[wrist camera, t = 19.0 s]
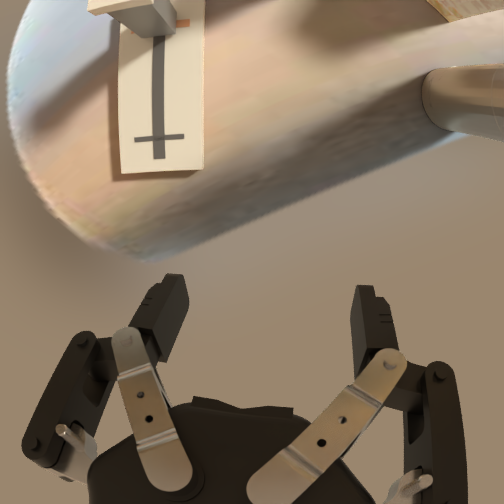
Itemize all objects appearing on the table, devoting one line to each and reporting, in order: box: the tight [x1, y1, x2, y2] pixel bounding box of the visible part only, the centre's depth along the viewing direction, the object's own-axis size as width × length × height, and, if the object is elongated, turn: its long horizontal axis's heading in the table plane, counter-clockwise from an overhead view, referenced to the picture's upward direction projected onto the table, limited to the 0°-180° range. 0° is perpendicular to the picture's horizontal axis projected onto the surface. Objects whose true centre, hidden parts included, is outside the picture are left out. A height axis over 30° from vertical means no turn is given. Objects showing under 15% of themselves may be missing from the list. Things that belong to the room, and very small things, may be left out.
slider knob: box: [87, 0, 177, 38], centre depth 21 cm, size 5×4×14 cm
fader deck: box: [118, 0, 206, 174], centre depth 31 cm, size 10×22×2 cm, turn 0°
